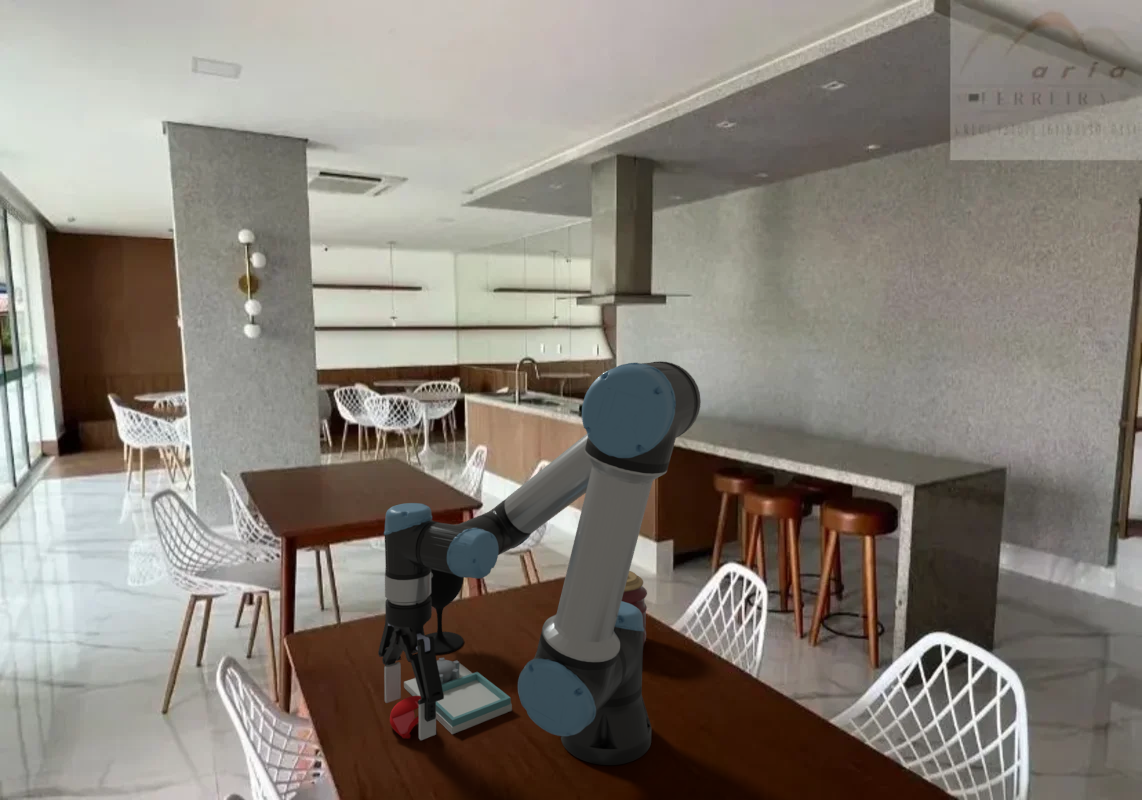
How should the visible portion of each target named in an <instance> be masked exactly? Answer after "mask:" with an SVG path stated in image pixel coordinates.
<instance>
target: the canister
mask: <svg viewBox="0 0 1142 800" xmlns="http://www.w3.org/2000/svg"><path fill="white" fill-rule="evenodd" d="M643 585H644V580H643V578H642V577H641V576H639V575H637V573H636V572H633V571H631V570H629V574H628V578H627V582H626V585H625V589H624V593H623V597H622V601H623V602H626V603H629V604H632V605H634V606H635V607H637V608H638V609H639V610H640V611H641V613H642V616H643V628H644V631H643V648H644V647H645V645H646V639H647V631H646V623H647V622H646V617H647V615H646V614H647V613H646V612H647V609H648V606H647V604H646V603H645V602H646V601H645V598H646V597H647V595H648V591H647V589H646V588H645V587H644V586H643Z"/></svg>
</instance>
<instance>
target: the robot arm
mask: <svg viewBox="0 0 1142 800" xmlns="http://www.w3.org/2000/svg"><path fill="white" fill-rule="evenodd" d="M583 398H584V399H583V401H582V406H581V421H582V426H583V428H584V429H585V431H586V434H584V435H583V436H582V437H581V438H580V439H578V440H577V441H576V442H574V443H573V444H572V445H571V446H569V447H568V448H567V449H566V450H565V451H563V452H562V453H561V454H560V455H558V456H557V457H556V458H554V459H553V460H552V461H551V462H550V463H548V464H547V465H546V466H545V467H543V468H542V469H541V470H540V471H539V472H537V473H536V474H534V475H533V476H532V477H531V478H529V480H527V481H526V482H525V483H522V485H521V486H519V488H516V490H514V492H512V493H511V494H510V495H508V496H507V497H506V498H505V499H504V500H502V501H501V502H500V503H498V504H497V505H496V506H495V507H494V508H492V509H491V510H489V511H487V512H485V513H483V514H480V515H477V516H475V517H473V518H471V519H467V520H466V521H462V522H461V523H458V524H452V523H451V524H450V523H445V522H444V523H443V522H439V521H435V520H433V515H432V509H431V507H430V506H428V505H426V504H424V503H419V502H418V503H417V502H408V503H401V504H400V503H399V504H397V505H393V506H391V507H390V508H388V509H387V510H386V512H385V518H384V519H385V521H384V531H383V535H384V552H385V553H384V555H385V556H384V558H385V559H384V560H385V561H384V562H385V568H384V569H385V573H384V597H385V598H386V600H385V605H384V606H385V607H384V608H385V619H384V621H385V622H384V627H383V630H382V635H381V639H380V643H379V648H378V653H377V655H378V656H379V657H380V658H382V664H383V665H384V666H383V667H384V669H383V670H384V674H383V675H384V677H383V679H384V681H383V682H384V702H385V703H386V704H388V703H391V702H394V701H396V700H399V699H401V697H402V695H401V693H402V691H401V690H402V689H401V685H402V684H401V683H402V682H401V681H402V680H401V678H402V675H401V670H402V669H401V668H402V667H401V666H402V665H401V662H399V661H401V660H402V657H401V656H402V653H403V652H404V654H405V657H406V661H407V662H408V663H410V664H411V668H412V670H413V675H414V678H416V682H417V685H418V689H419V692H420V696H421V699H420V700H419V701H418V704H419V708H418V716H419V723H418V739H419V741H423V740H426V739H428V738H430V737H433V736H435V735H437V719H436V702H437V701H440V700H442V699H444V694H443V689H442V685H441V680H440V675H439V670H438V665H437V661H438V660H437V657H436V656H437V655H435V647H434V638H433V636H429V637H425V635H426V633H425V630H424V626H425V625H426V623H428V622H429V621H430V620H431V618H432V614H433V613H432V611H433V610H432V609H433V607H432V598H431V596H430V594H431V578H432V577H433V574H432V573H431V569H433V570H437V571H442V572H446V573H450V574H454V575H457V576H459V577H464V578H469V579H471V578H472V579H483V578H485V577H487V576H488V575H490V573H491V570H492V569H494V568H495V565H496V564H497V562H498V561H497V560H498V558H499V556H500V555H501V554H503V553H506V552H508V551H509V550H513V549H515V548H517V547H519V546H520V545H522V544H523V543H525V541H527V540H528V539H529V537H530V536H531V534H533V533H534V532H535V531H537V530H538V529H539V528H541V527H542V526H543V525H545V524H546V523H547V522H549V521H551V520H552V519H553V518H554V517H555V516H556V515H558V514H559V513H561V512H562V511H563V510H564V509H566V508H568V507H569V506H570V505H572V503H574V502H575V501H577V500H579V498H581V497H582V496H584V498H583V501H582V507H581V510H580V515H579V520H578V524H577V529H576V532H575V535H574V540H573V545H572V549H571V552H570V557H569V562H568V564H567V565H568V566H567V568H566V574H565V577H564V581H563V586H562V590H561V595H560V598H559V603H558V607H557V612H556V614H554V615H552V616H550V617H548V618H547V619H546V620H545V622H544V623H543V625H542V629H541V633H540V637H539V641H538V644H537V649H536V653H535V656H534V657H533V658H532V659H531V660H529V661H528V662H527V663H526V664H525V665H524V666H523V667H524V668H523V669H522V670H521V671H520V673H519V675H518V676H519V677H518V679H517V693H518V696H519V697H518V698H519V701H520V703H521V706H522V707H523V708H524V709H525V710H526V713H527V715H528V718H530V719H531V720H532V722H534V724H535V725H537V726H538V727H539V728H540V729H542V730H544V731H545V732H547V733H549V734H551V735H553V736H554V735H555V736H557V737H560V740H561V743H562V745H563V747H564V748H565V750H566V751H568V753H569V754H571V755H572V756H574V758H576V759H579V760H581V761H584V762H586V763H588V764H589V763H590V764H594V765H602V766H619V765H624V764H627V763H632V762H633V761H636V760H639V759H640V758H641V757H643V756H645V754H646V753H647V752H648V750H649V749H650V747H651V746H652V745H651V743H652V724H651V722H650V718H649V715H648V711H647V708H646V704H645V700H644V698H643V695H642V694H643V693H642V692H643V689H642V686H643V656H644V653H643V651H644V647H643V631H644V628H643V616H642V613H641V611H640V610H639V609H638V608H637V607H635V606H634V605H632V604H629V603H626V602H623V601H622V597H623V593H624V589H625V585H626V582H627V578H628V574H629V571H631V570H630V569H631V566H632V561H633V559H634V554H635V551H636V547H637V542H638V539H639V534H640V532H641V529H642V523H643V520H644V515H645V512H646V509H647V504H648V501H649V497H650V494H651V493H650V492H651V489H652V485H653V482H654V481H655V480H657V479H658V478H659V477H661V476H664V475H665V474H666V473H667V472H668V469H669V465H670V461H671V458H672V457H671V456H672V454H673V451H674V446H675V443H676V439H677V438H679V437H681V436H682V435H684V434H685V433H686V432H688V431H689V430H690V429H691V427H692V426H693V425H694V424H695V422H696V420H697V417H698V416H699V413H700V409H701V392H700V389H699V386H698V384H697V382H696V381H695V379H694V378H693V376H692V375H691V374H690V372H688V371H687V370H686V369H684V368H683V367H682V366H680V365H679V364H675V363H673V362H669V361H662V360H661V361H659V360H658V361H652V362H651V361H650V362H644V363H643V362H642V363H640V362H628V363H624V364H620V365H618V366H615V367H613V368H611V369H608V370H607V371H605V372H603V373H602V374H600V375H599V376H598V377H597V378H595V380H594V381H593V382H592V383H591V385H590V386H589V388H588V389H587V391H586V393H585V395H584V397H583Z"/></svg>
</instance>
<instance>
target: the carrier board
mask: <svg viewBox="0 0 1142 800" xmlns="http://www.w3.org/2000/svg"><path fill="white" fill-rule="evenodd" d="M437 665H438V670H439V675H440V680H441V685H442V689H443V694H444V699H442V700H440V701H437V702H436V721H438V722H439V723H440V724H441V725H442V726H443V727H444V728H445V729H446V730H447V731H448V732H449V733H450V734H451V735H454V734H456V733H459V732H462V731H464V730H467V729H470V728H472V727H474V726H477V725H479V724H481V723H484V722H487V721H490V720H491V719H494V718H496V717H499V716H501V715H504V714H507V713H508V712H512V711H513V707H512V706H513V705H512V701H511V700H512V698H511V697H510V696H509V695H508V694H507V693H506V692H504V691H503V690H502V689H500V688H499V687H498V686H496V685H495V684H494V683H493V682H491V681H490V680H488V679H487V678H486V677H484V676H483V674H481V673H480V672H478V671H476V672H472V671H470V670H469V669H468V668H467V667H465V666H464V665H463V664H461V663H460V661H458V659H457V660H454V661H452V660H448V659H445V657H439V658H438V660H437ZM403 688H404V689H405V690H406V691H407V693H409V694H410V696H420V692H419V689H418V685H417V682H416V678H415V677H414V678H411V679H408V680H405V681H403Z"/></svg>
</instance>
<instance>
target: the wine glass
mask: <svg viewBox="0 0 1142 800" xmlns="http://www.w3.org/2000/svg"><path fill="white" fill-rule="evenodd" d="M431 573H432V574H433V577H432V578H431V594H430V596H431V598H432V608H434V609H435V611H436V621H437V628H436V632H431V633H427V634H425V637H429V636H433V638H434V647H435V655H436V656H437V655H439V656H440V655H447V654H450V653H453V652H456V651H458V650H459V649H461V648H462V647H463V646H464V641H465V640H464V638H463V636H462V635H460V634H458V633H456V632H452V631H443V612H444V608H445V607H447V606H448V605H450V603H452V602H453V601H454V600H455V599H456V598H457V597H458V595H459V593H460V591H462V587H463V583H464V578H465V577H459V576H457V575H454V574H450V573H446V572H442V571H437V570H433V569H431Z"/></svg>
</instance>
